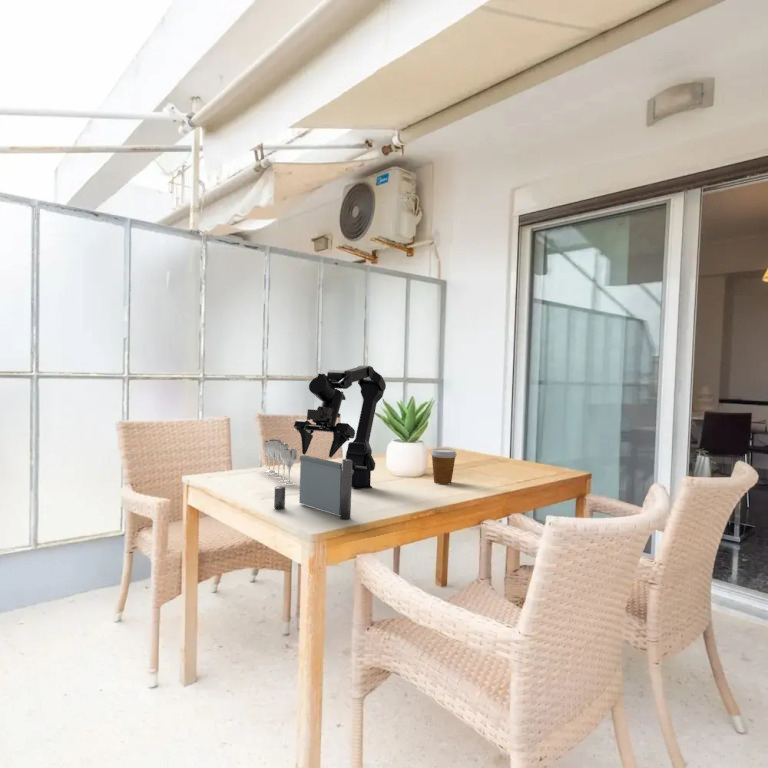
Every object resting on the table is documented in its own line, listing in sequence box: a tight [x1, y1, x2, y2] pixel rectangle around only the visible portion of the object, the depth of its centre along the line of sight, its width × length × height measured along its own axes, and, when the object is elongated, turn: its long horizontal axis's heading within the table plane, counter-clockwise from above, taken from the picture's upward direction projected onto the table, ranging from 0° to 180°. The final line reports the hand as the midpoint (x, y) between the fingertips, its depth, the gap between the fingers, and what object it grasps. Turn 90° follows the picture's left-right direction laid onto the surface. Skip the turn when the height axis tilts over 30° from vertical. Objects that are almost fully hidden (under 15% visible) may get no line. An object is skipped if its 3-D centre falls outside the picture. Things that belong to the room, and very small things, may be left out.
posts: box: [273, 458, 352, 521], centre depth 147 cm, size 24×3×16 cm, turn 68°
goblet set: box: [263, 438, 299, 484], centre depth 192 cm, size 28×6×13 cm, turn 30°
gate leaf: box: [298, 454, 342, 516], centre depth 150 cm, size 18×2×14 cm, turn 48°
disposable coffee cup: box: [430, 448, 457, 485], centre depth 192 cm, size 10×10×12 cm
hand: (316, 455), depth 155 cm, fingers open, 9 cm apart
